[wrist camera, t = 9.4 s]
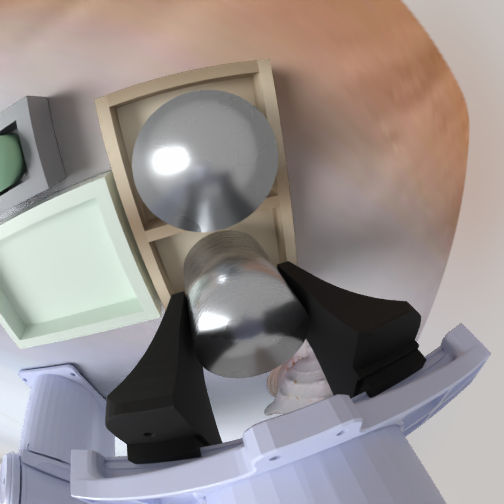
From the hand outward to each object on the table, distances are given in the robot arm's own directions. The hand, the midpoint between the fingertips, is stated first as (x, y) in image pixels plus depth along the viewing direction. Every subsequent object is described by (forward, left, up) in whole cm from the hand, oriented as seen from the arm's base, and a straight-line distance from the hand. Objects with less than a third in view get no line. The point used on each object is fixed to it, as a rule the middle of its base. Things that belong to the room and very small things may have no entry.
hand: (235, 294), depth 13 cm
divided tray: (+3, 0, -4) cm, 5 cm away
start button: (+10, +10, -3) cm, 14 cm away
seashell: (-14, -5, -5) cm, 15 cm away
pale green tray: (+2, +11, -4) cm, 12 cm away
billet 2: (0, 0, -2) cm, 2 cm away
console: (+10, +10, -4) cm, 15 cm away
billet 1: (+7, 0, -3) cm, 8 cm away
